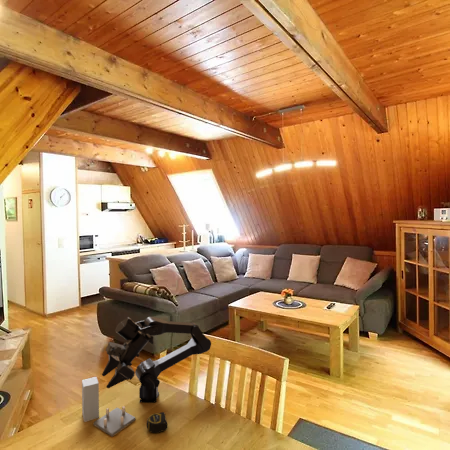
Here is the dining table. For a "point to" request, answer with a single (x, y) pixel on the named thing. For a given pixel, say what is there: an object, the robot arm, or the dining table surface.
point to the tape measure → (157, 422)
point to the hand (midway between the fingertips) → (104, 381)
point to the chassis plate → (114, 421)
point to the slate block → (90, 399)
